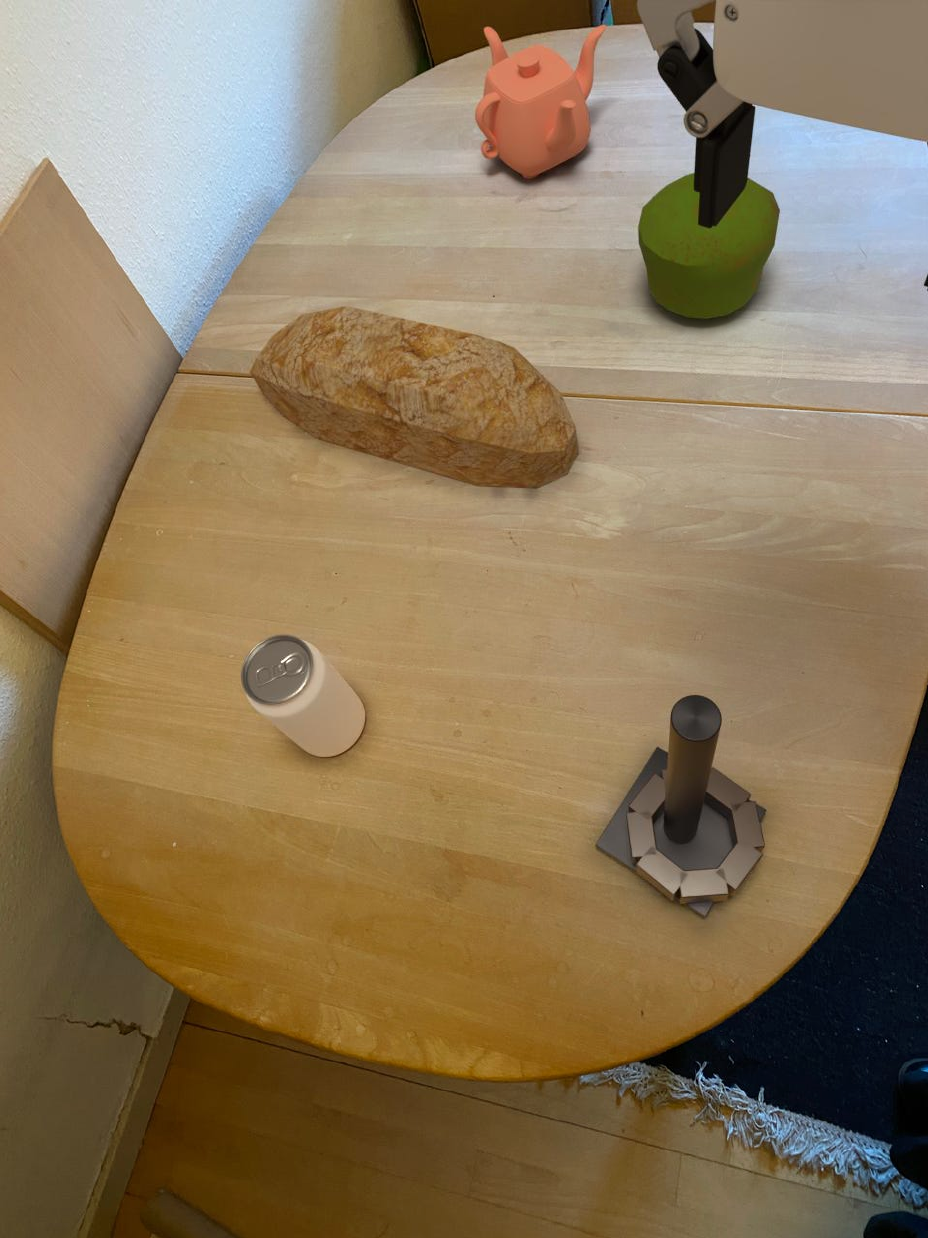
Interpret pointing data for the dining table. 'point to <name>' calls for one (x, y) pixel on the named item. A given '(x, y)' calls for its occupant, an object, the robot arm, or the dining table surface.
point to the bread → (419, 397)
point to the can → (302, 695)
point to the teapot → (535, 105)
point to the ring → (699, 881)
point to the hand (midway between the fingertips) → (828, 236)
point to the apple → (706, 249)
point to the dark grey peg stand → (681, 797)
